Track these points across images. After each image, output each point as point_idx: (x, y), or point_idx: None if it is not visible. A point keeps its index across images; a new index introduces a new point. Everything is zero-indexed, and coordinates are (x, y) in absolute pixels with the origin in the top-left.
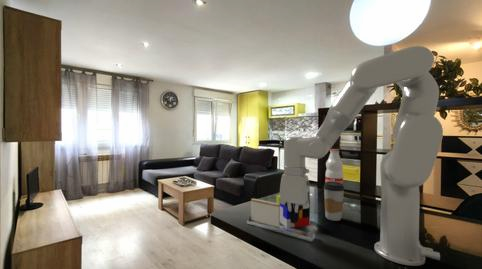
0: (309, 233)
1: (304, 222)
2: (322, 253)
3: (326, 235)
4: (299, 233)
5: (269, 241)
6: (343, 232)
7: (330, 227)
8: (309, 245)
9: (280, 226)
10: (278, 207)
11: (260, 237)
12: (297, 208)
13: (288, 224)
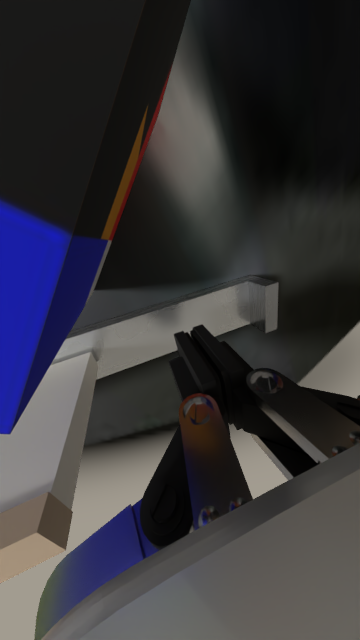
0: (263, 329)
1: (142, 151)
2: (293, 346)
3: (281, 204)
4: (207, 327)
5: (151, 424)
6: (347, 67)
7: (278, 20)
8: (253, 341)
9: (93, 345)
10: (70, 501)
11: (109, 436)
12: (300, 453)
13: (95, 283)
